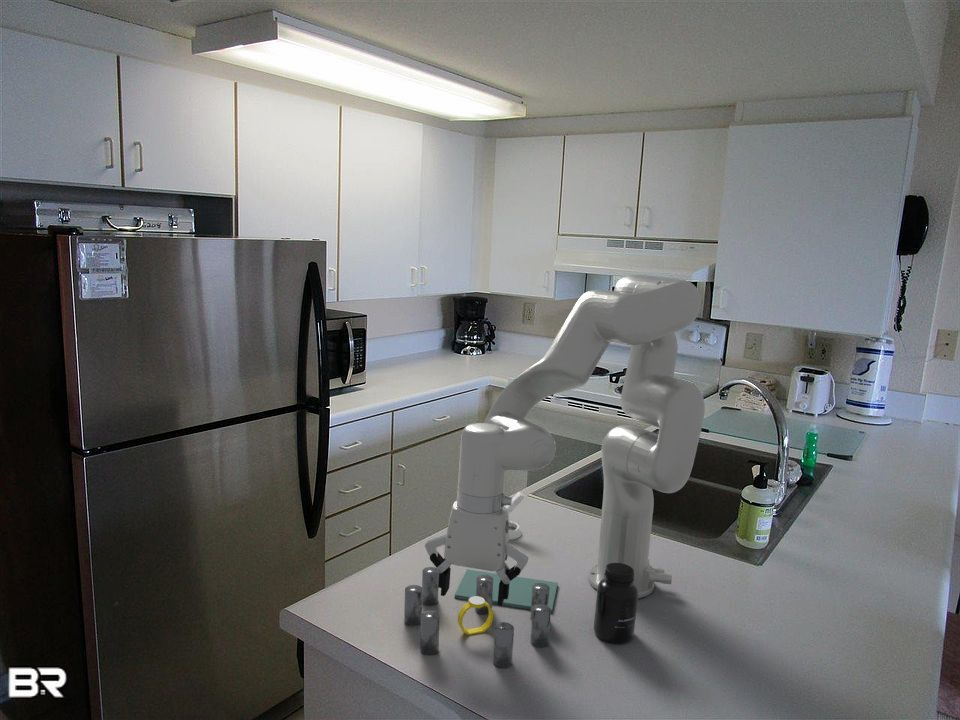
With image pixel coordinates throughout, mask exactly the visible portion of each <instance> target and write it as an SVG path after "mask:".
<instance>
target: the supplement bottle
mask: <svg viewBox="0 0 960 720" xmlns="http://www.w3.org/2000/svg"><path fill="white" fill-rule="evenodd" d="M633 582H634V569H633V568H631V567H630V566H628V565H626V564H623V563H609V564H607V565H606V568H605V573H604V578H603V579H602V580H601V581H600V582H599V584H598V588H597V589H596V598H595V606H594V607H595V609H594V620H593V631H594V633H595V635H596V636H597V637H598V638H599V639H600V640H602V641H604V642H606V643H608V644H614V645H621V644H622V645H624V644H627V643H629V642H630V641H631V640H632V639H633V637H634V634H635V626H636V618H637V608H638V599H639V598H638V589H637V587H636V585H635V584H634V583H633Z"/></svg>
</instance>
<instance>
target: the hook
mask: <svg viewBox="0 0 960 720" xmlns="http://www.w3.org/2000/svg"><path fill="white" fill-rule="evenodd" d="M524 496H525V495H524V494H523V493H522V492H521V491H518V492H517V493H515V495H514V496H513V497H512V504H511V506H510V505H506V506H505V507H506V508H507V512H508V521H509V528H510V527H511V528H514V529H513V530H509V541H510V540H516V539H518V538H520V537H522V529H521V527H520V525H519V523H517V522H515V521H512V520H511V519H510V517H509V516H510V514H511V513H512V512H513V511H514V510H515V508H517V506H518V505H519V504H521V502H522V501H523V500H524Z"/></svg>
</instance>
